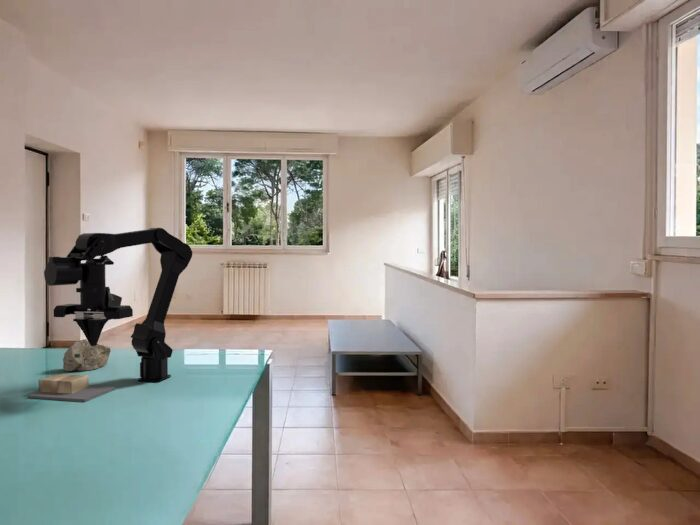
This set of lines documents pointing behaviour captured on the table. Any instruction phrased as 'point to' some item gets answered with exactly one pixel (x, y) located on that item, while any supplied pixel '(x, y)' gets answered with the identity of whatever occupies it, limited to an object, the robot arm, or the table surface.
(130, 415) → the table surface
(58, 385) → the wooden block
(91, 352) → the rock
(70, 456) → the table surface
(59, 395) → the mat
